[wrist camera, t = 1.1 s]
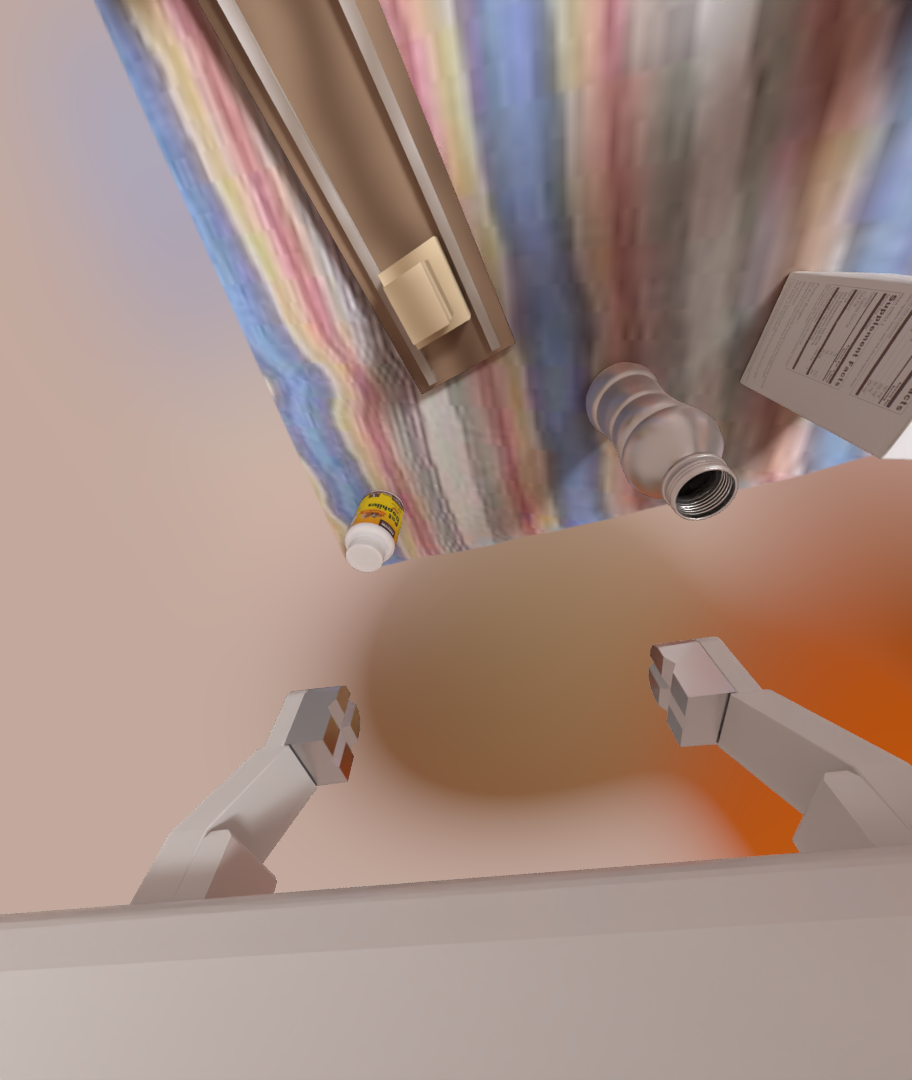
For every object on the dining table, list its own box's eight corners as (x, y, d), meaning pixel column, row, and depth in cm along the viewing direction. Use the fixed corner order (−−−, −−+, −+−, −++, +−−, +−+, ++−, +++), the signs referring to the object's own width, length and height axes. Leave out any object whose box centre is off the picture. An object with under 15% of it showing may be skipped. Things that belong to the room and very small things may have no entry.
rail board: (221, -393, 18) (119, -641, 13) (514, 339, 36) (519, 356, 31) (98, -188, 21) (-23, -323, 16) (423, 389, 40) (415, 411, 35)
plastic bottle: (573, 422, 41) (631, 536, 25) (591, 352, 37) (673, 438, 21) (634, 426, 41) (731, 544, 25) (659, 357, 37) (792, 446, 21)
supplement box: (735, 384, 38) (872, 462, 25) (787, 269, 32) (1002, 290, 19) (835, 388, 38) (1028, 469, 24) (905, 273, 32) (1208, 297, 19)
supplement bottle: (413, 501, 48) (399, 554, 40) (393, 531, 51) (377, 585, 43) (372, 479, 47) (349, 529, 38) (354, 511, 50) (330, 564, 41)
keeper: (436, 236, 31) (425, 236, 24) (471, 313, 34) (468, 330, 28) (385, 272, 32) (362, 280, 26) (422, 342, 35) (409, 365, 29)
